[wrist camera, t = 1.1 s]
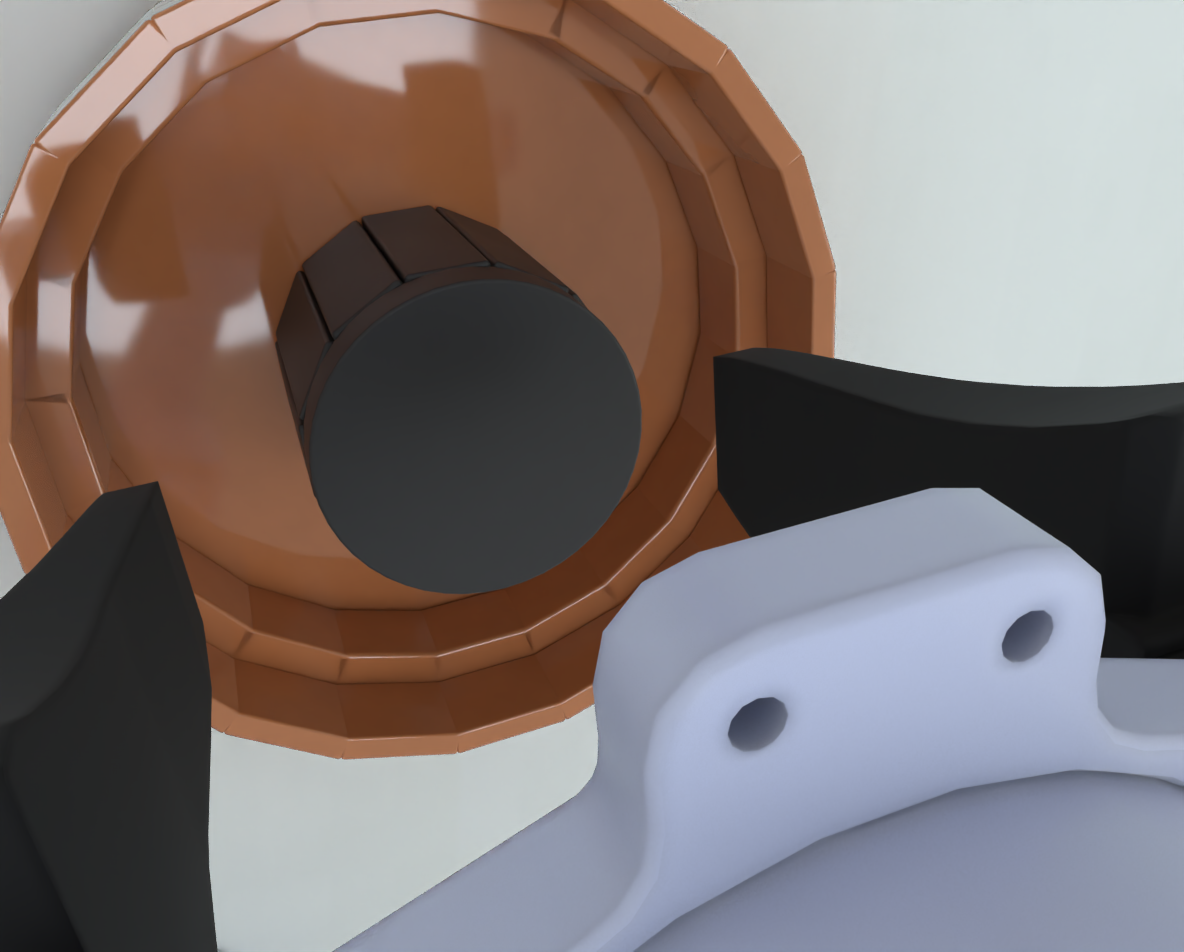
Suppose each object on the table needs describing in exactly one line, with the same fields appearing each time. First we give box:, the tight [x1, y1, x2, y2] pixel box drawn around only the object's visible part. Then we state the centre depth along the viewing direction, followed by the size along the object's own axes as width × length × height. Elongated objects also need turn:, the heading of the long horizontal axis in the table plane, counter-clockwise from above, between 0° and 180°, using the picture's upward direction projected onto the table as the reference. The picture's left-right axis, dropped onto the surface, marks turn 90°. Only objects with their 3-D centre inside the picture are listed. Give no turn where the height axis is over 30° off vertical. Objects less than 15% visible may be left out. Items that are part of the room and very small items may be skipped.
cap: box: [275, 205, 642, 594], centre depth 18 cm, size 5×5×5 cm
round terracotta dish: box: [0, 0, 836, 759], centre depth 19 cm, size 14×14×4 cm
